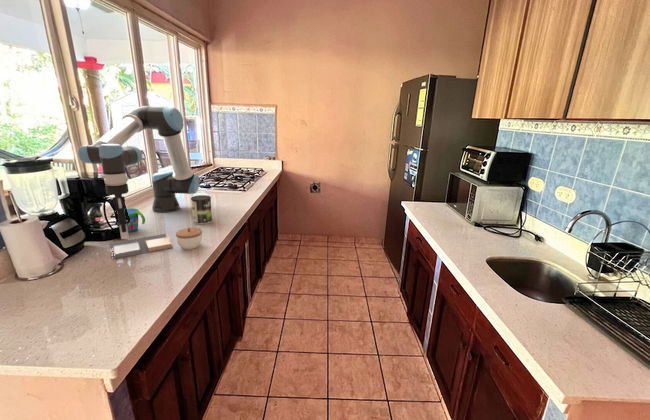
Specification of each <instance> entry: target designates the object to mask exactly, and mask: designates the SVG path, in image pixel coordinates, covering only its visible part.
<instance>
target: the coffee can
mask: <svg viewBox="0 0 650 420" xmlns="http://www.w3.org/2000/svg"><path fill="white" fill-rule="evenodd" d="M211 200H212V196H210V195H205V194H201V195H194V196H192V197H190V201H191V202H190V203H191V211H192V212H191V213H192V223H193V224H195V225H207V224H210V223H212V222H213V211H212V201H211Z"/></svg>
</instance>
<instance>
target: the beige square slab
mask: <svg viewBox="0 0 650 420" xmlns="http://www.w3.org/2000/svg"><path fill="white" fill-rule="evenodd" d="M171 245H172V242H171V241H170V238H169V237H168V236H167V237H165V238H159V239H153V240H148V241H146V246H147V248H148V251H149V252H151V251H156V250H161V249H167V248H171ZM167 250H168V249H167Z"/></svg>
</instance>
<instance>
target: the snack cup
mask: <svg viewBox="0 0 650 420" xmlns="http://www.w3.org/2000/svg"><path fill="white" fill-rule="evenodd" d="M126 209H127V212H128V216H129V218H130V222H129V223H127V228H128V233H132V232H135V231H137V230H138V229H139V216H140V217H141V221H142V222H141V224H142V225H144V224H145V223H146V217H145V216H144V214H143V213H142V212H141V211H140V210H139V209H138V208H132V207H131V208H126ZM113 215H114V212H113V213H111V215H110V217H111V216H113ZM113 217H114V216H113Z"/></svg>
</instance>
